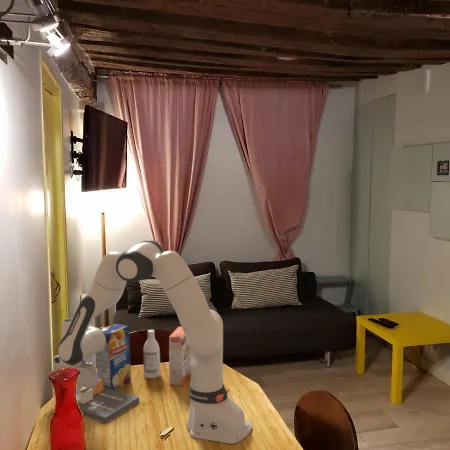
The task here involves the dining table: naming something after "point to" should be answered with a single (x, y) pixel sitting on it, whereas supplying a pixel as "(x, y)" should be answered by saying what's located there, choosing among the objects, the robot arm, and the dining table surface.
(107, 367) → the juice carton
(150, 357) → the bath foam
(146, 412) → the dining table surface
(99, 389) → the orange knob
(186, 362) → the cracker box
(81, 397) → the ivory knob
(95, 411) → the console board
